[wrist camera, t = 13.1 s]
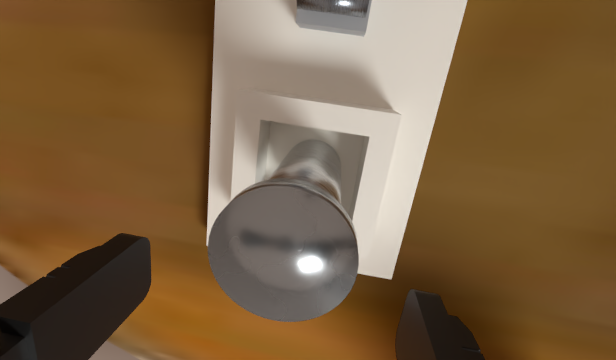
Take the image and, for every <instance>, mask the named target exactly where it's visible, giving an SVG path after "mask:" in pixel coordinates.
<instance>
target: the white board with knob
mask: <svg viewBox="0 0 616 360" xmlns="http://www.w3.org/2000/svg"><path fill="white" fill-rule="evenodd" d="M466 4H467V0H369V4H368V9H367V14H366V18H361V17H353V16H346V15H339V14H331V13H324V12H316V11H309V10H302V9H297V0H215V22H214V50H213V79H212V107H211V135H210V163H209V191H208V219H207V246H208V241H209V235H210V232H211V228H212V226H213V224H214V222H215V220H216V218H217V217H218V215H219V214H220V213H221V212H222V210H223V209H224V208H225V207H226V206H227V205H228V204H229V203H230V202H231V201H232V199H233V198H234V197H235V196H236V195H238V194H239V193H240V192H241V191H242V190H244V189H246V188H247V187H249V186H251V185H253V184H255V183H258V182H261V181H264V180H268V179H269V178H270V176H271V175H272V174H273V173H274V171H275V170H276V169H277V167H278V166H279V165H280V163H281V162H282V161H283V159H284V158H285V157H286V155H287V154H288V153H289V151H290V150H291V149H292V148H293V147H294V146H295V145H296V144H298V143H300V142H302V141H305V140H309V139H315V140H321V141H323V142H326V143H328V144H329V145H330V146H332V147H333V148H334V149H335V151H336V152H337V154H338V156H339V158H340V161H341V205H342V206H343V207H344V209H345V210H346V212H347V213H348V215H349V216H350V218H351V220H352V223H353V225H354V228H355V232H356V237H357V245H358V255H359V266H358V272H357V273H359V274H364V275H370V276H375V277H381V278H386V279H392V275H393V272H394V268H395V264H396V261H397V257H398V253H399V250H400V246H401V242H402V239H403V235H404V231H405V228H406V224H407V220H408V217H409V213H410V209H411V206H412V202H413V198H414V195H415V191H416V187H417V184H418V180H419V176H420V173H421V169H422V165H423V162H424V158H425V154H426V151H427V147H428V143H429V140H430V136H431V132H432V129H433V125H434V121H435V118H436V114H437V110H438V107H439V103H440V99H441V96H442V92H443V88H444V85H445V81H446V77H447V73H448V70H449V66H450V62H451V59H452V55H453V51H454V48H455V44H456V40H457V37H458V33H459V29H460V26H461V22H462V18H463V15H464V11H465V7H466Z"/></svg>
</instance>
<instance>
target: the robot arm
mask: <svg viewBox="0 0 616 360" xmlns="http://www.w3.org/2000/svg"><path fill="white" fill-rule="evenodd" d="M150 285H151V256H150V242H149V240H148V238H145V237H140V236H135V235H130V234H124V233H121V234H118V235H116V236H115V237H113V238H112V239H110V240H109V241H108V242H106V243H105V244H103V245H102V246H97V247H95V248H92V249H90V250H87V251H84V252H82V253H79V254H77V255H76V256H74V257H73V258H71V259H70V260H68V261H67V262H65V263H63V264H62V265H61V267H57V268H56V269H54V270H53V271H51V272H50V273H48V274H47V276H46V277H42V278H40V279H39V280H37V281H36V282H34V283H33V284H31V285H30V286H28V287H26V288H25V289H23V290H22V291H20V292H19V293H17V294H16V295H14V296H13V297H11V298H10V299H8V300H7V301H5V302H3V303H2V304H0V360H88V359H89V358H90V357H91V356H92V355H93V354H94V353H95V352H96V351H97V350H98V348H99V347H100V346H101V345H102V344H103V343H104V342H105V341H106V340H107V339H108V338H109V337H110V336H111V335H112V333H113V332H114V331H115V330H116V329H117V328H118V327H119V326H120V325H121V324H122V323H123V322H124V320H125V319H126V318H127V317H128V316H129V315H130V314H131V313H132V312H133V311H134V310H135V309H136V307H137V306H138V305H139V304H140V303H141V302H142V301H143V300H144V298H145V297H146V295H147V293H148V291H149V288H150ZM395 348H396V357H397V360H485V359H484V357H483V355H482V354H481V353H480V348H479V346H478V344H477V342H476V340H475V338H474V336H473V334H472V333H471V331H470V330H469V329H468V328H467V327H466V326H465V325H464V324H463V323H462V322H461V321H460V320H459V318H458V317H456V316H451V315H448V314H447V311H446V309H445V307H444V304H443V302H442V300H441V298H440V296H439V295H438V294H435V293H429V292H424V291H419V290H414V289H411V290H410V291H409V292H408V295H407V298H406V302H405V305H404V308H403V312H402V315H401V318H400V322H399V325H398V328H397V333H396V342H395Z"/></svg>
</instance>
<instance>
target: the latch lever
mask: <svg viewBox="0 0 616 360" xmlns="http://www.w3.org/2000/svg"><path fill="white" fill-rule="evenodd" d="M368 4H369V0H297V9H302V10H309V11H316V12H324V13H331V14H339V15H346V16H353V17H361V18H366V14H367V9H368Z"/></svg>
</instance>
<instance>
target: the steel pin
mask: <svg viewBox="0 0 616 360" xmlns="http://www.w3.org/2000/svg"><path fill="white" fill-rule="evenodd" d="M208 257H209V263H210V266H211V269H212V272H213V274H214V276H215V278H216V280H217V282H218V283H219V285H220V287H221V288H222V289H223V290H224V292H225V293H226V294H227V295H228V296H229V297H230V298H231V299H232V300H233V301H234V302H236V303H237V304H238V305H239V306H241V307H243V308H244V309H246V310H247V311H249V312H251V313H253V314H255V315H258V316H261V317H263V318H267V319H271V320H276V321H284V322H295V321H304V320H309V319H313V318H316V317H319V316H321V315H323V314H325V313H327V312H329V311H330V310H332V309H334V308H335V307H336V306H337V305H339V304H340V303H341V302H342V301H343V300H344V298H345V297H346V296H347V295H348V293H349V292H350V290H351V289H352V287H353V284H354V282H355V279H356V276H357V272H358V266H359V255H358V245H357V237H356V232H355V228H354V225H353V223H352V220H351V218H350V216H349V215H348V213H347V212H346V210H345V209H344V207H343V206H342V205H341V161H340V158H339V156H338V154H337V152H336V151H335V149H334V148H333V147H332V146H330V145H329V144H328V143H326V142H323V141H321V140H315V139H309V140H305V141H302V142H300V143H298V144H296V145H295V146H294V147H293V148H292V149H291V150H290V151H289V153H288V154H287V155H286V157H285V158H284V159H283V161H282V162H281V163H280V165H279V166H278V167H277V169H276V170H275V171H274V173H273V174H272V175H271V176H270V178H269V179H268V180H264V181H261V182H258V183H255V184H253V185H251V186H249V187H247V188H246V189H244V190H242V191H241V192H240V193H239V194H238V195H236V196H235V197H234V198H233V199H232V201H231V202H230V203H229V204H228V205H227V206H226V207H225V208H224V209H223V210H222V212H221V213H220V214H219V215H218V217H217V218H216V220H215V222H214V224H213V226H212V228H211V232H210V235H209V241H208Z"/></svg>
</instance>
